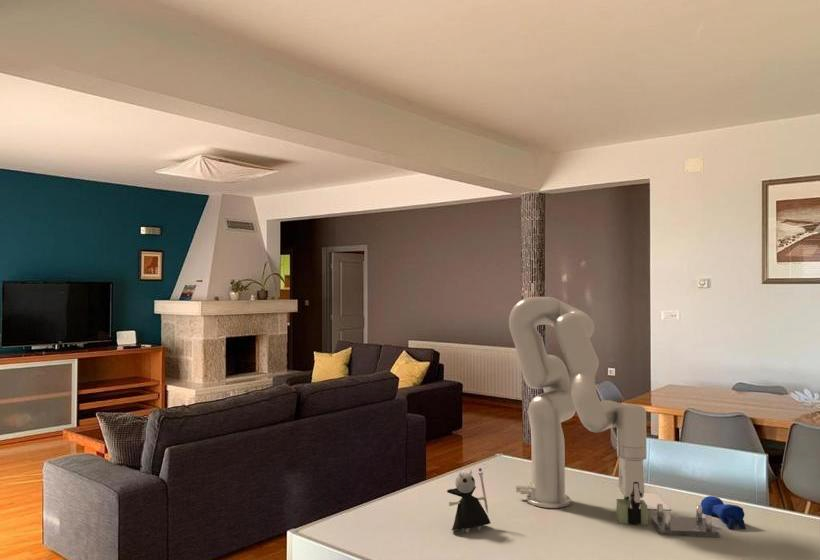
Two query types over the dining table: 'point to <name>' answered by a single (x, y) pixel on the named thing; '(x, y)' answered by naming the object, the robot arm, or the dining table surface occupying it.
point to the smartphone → (654, 501)
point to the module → (623, 511)
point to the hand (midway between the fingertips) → (632, 519)
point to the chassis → (684, 524)
